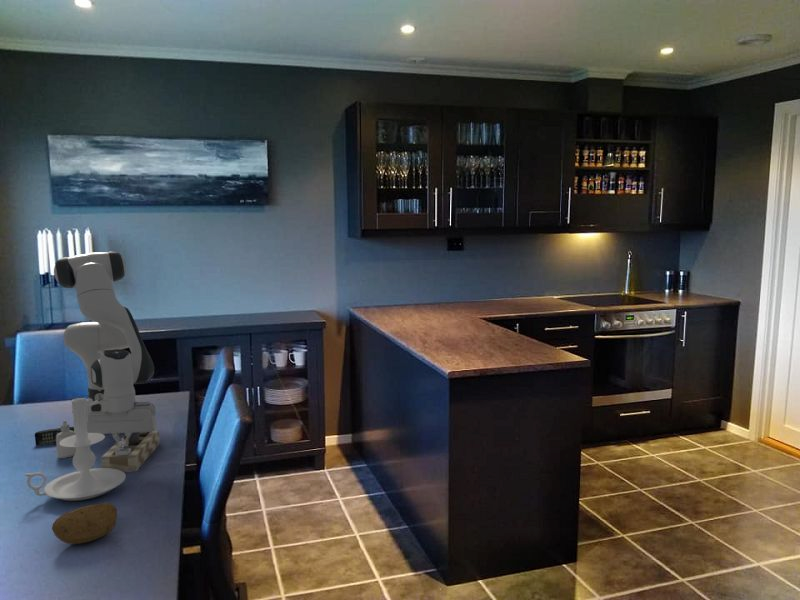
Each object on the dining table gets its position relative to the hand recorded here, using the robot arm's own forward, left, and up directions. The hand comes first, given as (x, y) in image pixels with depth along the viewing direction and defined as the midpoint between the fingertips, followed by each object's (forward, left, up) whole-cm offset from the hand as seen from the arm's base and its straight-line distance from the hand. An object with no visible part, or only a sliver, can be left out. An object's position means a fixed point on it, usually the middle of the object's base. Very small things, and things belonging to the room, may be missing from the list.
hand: (123, 445), depth 194 cm
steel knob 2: (-16, 0, -3) cm, 16 cm away
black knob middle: (-8, 0, -3) cm, 8 cm away
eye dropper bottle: (-12, -22, -7) cm, 26 cm away
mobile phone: (-26, -30, -7) cm, 41 cm away
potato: (+46, +7, -7) cm, 47 cm away
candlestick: (+19, -6, -7) cm, 21 cm away
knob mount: (-8, 0, -7) cm, 10 cm away
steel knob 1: (0, 0, -6) cm, 6 cm away
